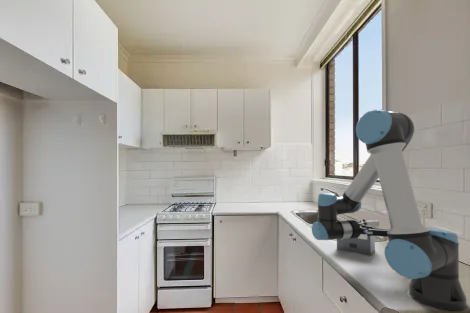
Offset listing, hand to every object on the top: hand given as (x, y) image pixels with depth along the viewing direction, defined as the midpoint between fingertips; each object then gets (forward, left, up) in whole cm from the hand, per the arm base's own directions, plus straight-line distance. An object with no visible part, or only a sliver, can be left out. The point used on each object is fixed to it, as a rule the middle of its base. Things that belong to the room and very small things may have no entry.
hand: (389, 227), depth 118 cm
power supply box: (+11, +17, -17) cm, 26 cm away
